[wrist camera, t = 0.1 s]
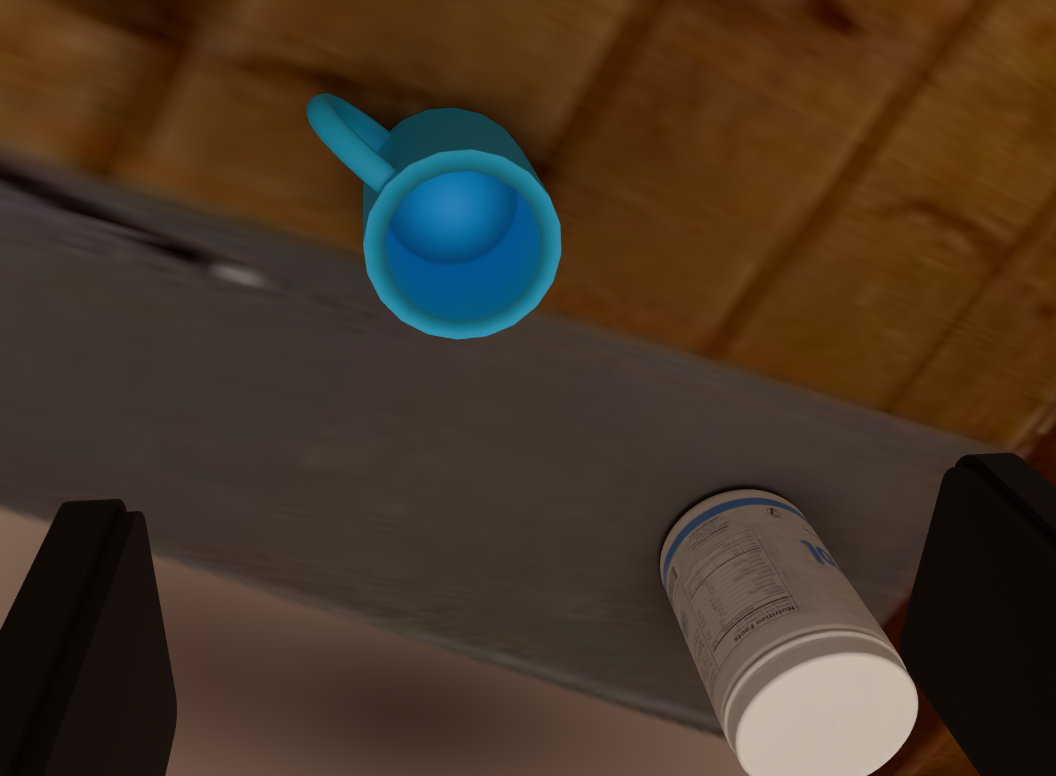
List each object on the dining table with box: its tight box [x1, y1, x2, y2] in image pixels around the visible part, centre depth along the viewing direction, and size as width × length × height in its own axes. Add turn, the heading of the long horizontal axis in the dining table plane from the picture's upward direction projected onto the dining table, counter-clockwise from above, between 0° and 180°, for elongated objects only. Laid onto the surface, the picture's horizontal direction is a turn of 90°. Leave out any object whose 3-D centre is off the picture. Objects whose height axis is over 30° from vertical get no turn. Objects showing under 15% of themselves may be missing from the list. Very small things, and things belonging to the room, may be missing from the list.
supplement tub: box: [660, 489, 918, 776], centre depth 53 cm, size 10×10×15 cm
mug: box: [306, 93, 561, 339], centre depth 43 cm, size 12×8×8 cm
